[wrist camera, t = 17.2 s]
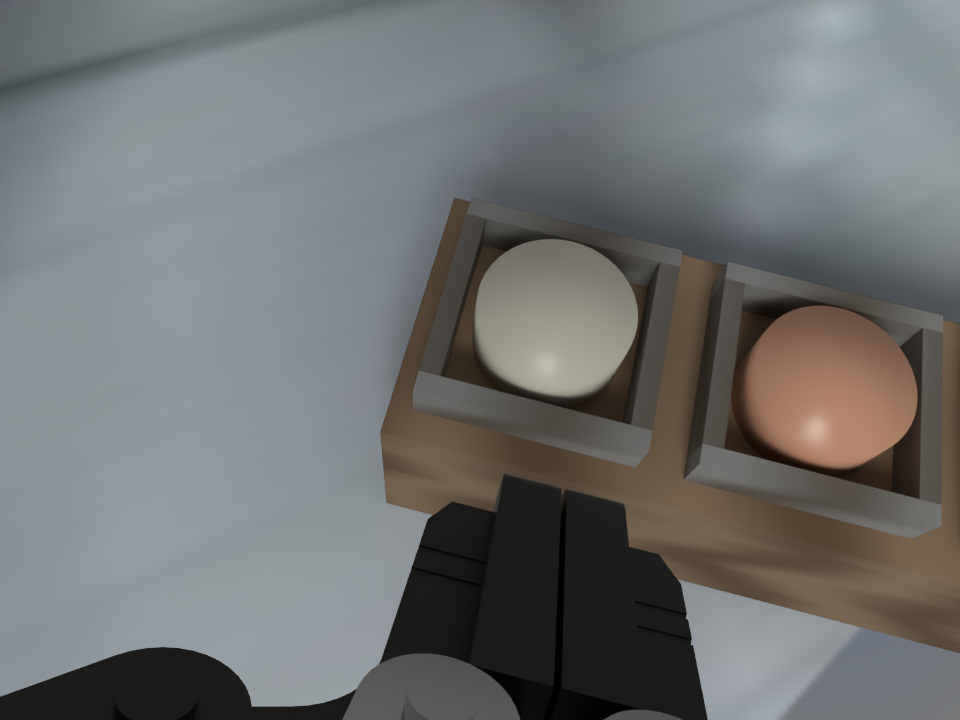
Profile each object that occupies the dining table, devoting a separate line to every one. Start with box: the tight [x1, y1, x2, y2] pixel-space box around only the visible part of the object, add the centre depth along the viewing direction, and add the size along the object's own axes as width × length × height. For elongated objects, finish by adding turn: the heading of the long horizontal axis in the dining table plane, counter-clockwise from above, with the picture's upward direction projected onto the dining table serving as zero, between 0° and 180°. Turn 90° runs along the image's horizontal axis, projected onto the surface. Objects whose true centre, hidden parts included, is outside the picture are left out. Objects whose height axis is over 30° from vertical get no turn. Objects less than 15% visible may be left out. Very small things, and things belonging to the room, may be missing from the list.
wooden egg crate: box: [380, 198, 960, 653], centre depth 28 cm, size 24×8×9 cm, turn 76°
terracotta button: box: [731, 306, 918, 477], centre depth 25 cm, size 5×5×2 cm
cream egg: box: [472, 239, 638, 408], centre depth 25 cm, size 5×5×2 cm
